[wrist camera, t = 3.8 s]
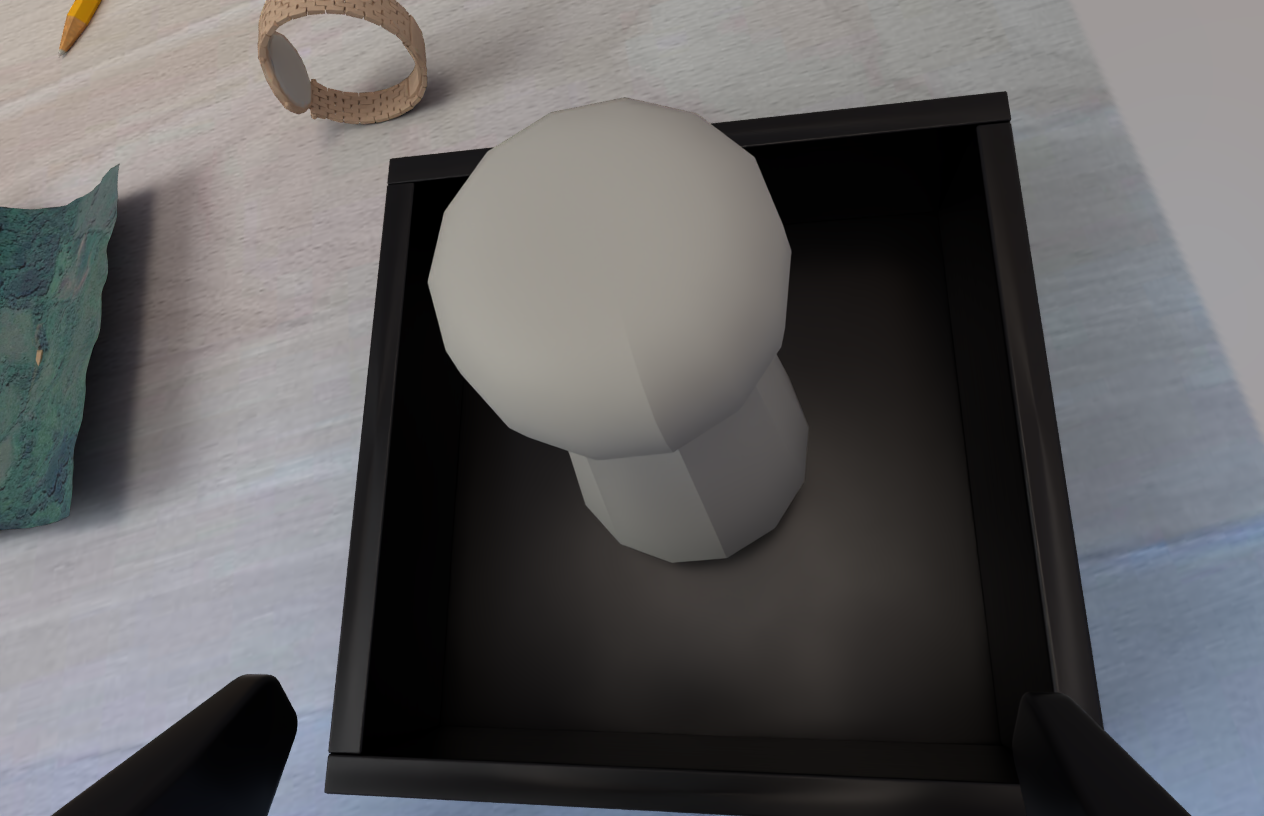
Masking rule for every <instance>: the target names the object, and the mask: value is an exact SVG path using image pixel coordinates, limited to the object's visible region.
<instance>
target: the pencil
mask: <svg viewBox="0 0 1264 816" xmlns="http://www.w3.org/2000/svg"><path fill="white" fill-rule="evenodd" d="M100 2H101V0H75V2H74V4H73V5H72V7H71V9H70V11H69V12H68V14H67V17H66V22H65V26H64V30H63V35H62V39H61V43H60V48H59V57H60V56H61V55H63V54H64V53H66V52H67V51H68V50H69V49H70V48H71V46H72V45H73V44H74V43H75V41H76V40H77V39H78V37H79V36H80V35H81V33H82V32H83V31H84V30H85V28H86V27H87V26H88V24H89V22H90V20H91V18H92V17H93V15H94V13H95V11H96V9H97V8H98V6H99V4H100ZM59 57H58V58H59Z"/></svg>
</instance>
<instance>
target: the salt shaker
mask: <svg viewBox="0 0 1264 816" xmlns="http://www.w3.org/2000/svg"><path fill="white" fill-rule="evenodd" d="M790 261H791V249H790V246H789V242H788V239H787V236H786V233H785V230H784V227H783V224H782V222H781V219H780V217H779V215H778V212H777V210H776V207H775V205H774V203H773V200H772V198H771V195H770V193H769V191H768V188H767V186H766V183H765V181H764V179H763V176H762V174H761V171H760V169H759V167H758V164H757V162H756V159H755V157H754V156H752V155H751V154H750V153H748V152H747V151H746V150H744V149H743V148H742V147H740V146H739V145H738V144H736V143H735V142H734V141H732V140H731V139H730V138H729V137H727V136H726V135H725V134H723V133H722V132H721V131H719V130H718V129H717V128H715V127H714V126H713V125H711V124H710V123H709V122H707V121H706V120H705V119H703V118H702V117H701V116H699V115H698V114H697V113H692V112H688V111H684V110H679V109H675V108H670V107H666V106H661V105H657V104H652V103H648V102H644V101H639V100H635V99H630V98H626V97H624V98H619V99H614V100H610V101H605V102H600V103H595V104H590V105H585V106H580V107H575V108H570V109H565V110H560V111H555V112H551V113H549V114H548V115H546V116H544V117H543V118H541V119H540V120H538V121H536V122H535V123H533V124H531V125H530V126H528V127H527V128H525V129H523V130H522V131H520V132H519V133H517V134H515V135H514V136H512V137H510V138H509V139H507V140H506V141H504V142H502V143H501V144H499V145H497V146H496V147H494V148H493V149H491V150H489V151H488V152H487V153H486V154H485V156H484V157H483V158H482V160H481V161H480V163H479V164H478V165H477V167H476V168H475V170H474V171H473V172H472V174H471V175H470V177H469V178H468V179H467V181H466V182H465V184H464V185H463V186H462V188H461V189H460V190H459V192H458V193H457V195H456V196H455V197H454V199H453V200H452V202H451V203H450V204H449V206H448V207H447V209H446V210H445V211H444V215H443V219H442V223H441V228H440V232H439V236H438V240H437V245H436V249H435V253H434V257H433V262H432V266H431V270H430V274H429V278H428V285H429V289H430V293H431V297H432V300H433V304H434V308H435V312H436V316H437V319H438V323H439V327H440V331H441V335H442V338H443V342H444V346H445V350H446V352H447V353H448V355H449V357H450V358H451V360H452V361H453V363H454V364H455V366H456V367H457V369H458V370H459V372H460V373H461V375H462V376H463V377H464V378H465V379H466V380H467V381H468V382H469V384H470V385H471V386H472V387H473V388H474V389H475V390H476V391H477V393H478V394H479V395H480V396H481V397H482V398H483V399H484V400H485V401H486V403H487V404H488V405H489V406H490V407H491V408H492V409H493V410H494V412H495V413H496V414H497V415H498V416H499V417H500V418H501V419H502V421H503V422H504V423H505V424H506V425H507V426H508V427H509V428H510V429H513V430H515V431H517V432H519V433H521V434H523V435H525V436H527V437H529V438H532V439H535V440H538V441H541V442H544V443H547V444H549V445H552V446H555V447H558V448H561V449H564V450H567V451H568V452H569V454H570V457H571V460H572V463H573V467H574V470H575V473H576V476H577V479H578V482H579V486H580V489H581V492H582V495H583V498H584V501H585V505H586V506H587V507H588V508H589V509H590V510H591V511H592V513H593V514H594V515H595V516H596V517H597V518H598V519H599V520H600V522H601V523H602V524H603V525H604V526H605V527H606V528H607V529H608V531H609V532H610V533H611V534H612V535H613V536H614V537H615V538H616V540H617V541H618V542H619V543H620V544H622V545H625V546H628V547H630V548H633V549H636V550H638V551H641V552H644V553H647V554H649V555H652V556H655V557H657V558H660V559H663V560H666V561H668V562H671V563H675V562H687V561H699V560H710V559H722V558H728V557H730V556H731V555H733V554H734V553H736V552H738V551H739V550H741V549H742V548H744V547H746V546H747V545H749V544H750V543H752V542H754V541H755V540H757V539H758V538H760V537H762V536H763V535H765V534H766V533H768V532H770V531H771V530H773V529H774V528H775V527H776V526H777V524H778V523H779V521H780V519H781V518H782V516H783V515H784V513H785V511H786V510H787V508H788V507H789V505H790V503H791V502H792V500H793V499H794V497H795V495H796V494H797V492H798V490H799V489H800V487H801V486H802V484H803V482H804V480H805V467H806V455H807V443H808V431H809V426H808V424H807V421H806V419H805V416H804V414H803V411H802V409H801V406H800V404H799V401H798V399H797V396H796V394H795V391H794V389H793V386H792V384H791V381H790V379H789V377H788V375H787V373H786V371H785V369H784V367H783V365H782V364H781V362H780V360H779V358H778V356H777V353H778V351H779V349H780V348H781V346H782V341H783V336H784V330H785V321H786V309H787V297H788V285H789V273H790Z"/></svg>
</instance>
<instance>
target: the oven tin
mask: <svg viewBox="0 0 1264 816" xmlns="http://www.w3.org/2000/svg"><path fill="white" fill-rule="evenodd" d="M1010 121H1011V115H1010V109H1009V102H1008V96H1007V92H1006V91H1004V92H995V93H986V94H977V95H968V96H959V97H949V98H940V99H931V100H922V101H913V102H904V103H895V104H885V105H876V106H867V107H858V108H849V109H840V110H831V111H822V112H812V113H803V114H794V115H785V116H776V117H767V118H758V119H749V120H739V121H730V122H721V123H712V124H711V125H713V126H714V127H715V128H717V129H718V130H719V131H721V132H722V133H723V134H725V135H726V136H727V137H729V138H730V139H731V140H732V141H734V142H735V143H736V144H738V145H739V146H740V147H742V148H743V149H744V150H746V151H747V152H748V153H750V154H751V155H752V156H754V157H755V159H756V162H757V164H758V167H759V169H760V171H761V174H762V176H763V179H764V181H765V183H766V186H767V188H768V191H769V193H770V195H771V198H772V200H773V203H774V205H775V207H776V210H777V212H778V215H779V217H780V219H781V222H782V224H783V227H784V230H785V233H786V236H787V239H788V242H789V246H790V249H791V261H790V273H789V285H788V297H787V309H786V321H785V330H784V336H783V341H782V346H781V348H780V349H779V351H778V353H777V356H778V358H779V360H780V362H781V364H782V365H783V367H784V369H785V371H786V373H787V375H788V377H789V379H790V381H791V384H792V386H793V389H794V391H795V394H796V396H797V399H798V401H799V404H800V406H801V409H802V411H803V414H804V416H805V419H806V421H807V424H808V426H809V431H808V443H807V455H806V467H805V480H804V482H803V484H802V486H801V487H800V489H799V490H798V492H797V494H796V495H795V497H794V499H793V500H792V502H791V503H790V505H789V507H788V508H787V510H786V511H785V513H784V515H783V516H782V518H781V519H780V521H779V523H778V524H777V526H776V527H775V528H774V529H773V530H771V531H770V532H768V533H766V534H765V535H763V536H762V537H760V538H758V539H757V540H755V541H754V542H752V543H750V544H749V545H747V546H746V547H744V548H742V549H741V550H739V551H738V552H736V553H734V554H733V555H731V556H730V557H728V558H722V559H710V560H699V561H687V562H675V563H671V562H668V561H666V560H663V559H660V558H657V557H655V556H652V555H649V554H647V553H644V552H641V551H638V550H636V549H633V548H630V547H628V546H625V545H622V544H620V543H619V542H618V541H617V540H616V538H615V537H614V536H613V535H612V534H611V533H610V532H609V531H608V529H607V528H606V527H605V526H604V525H603V524H602V523H601V522H600V520H599V519H598V518H597V517H596V516H595V515H594V514H593V513H592V511H591V510H590V509H589V508H588V507H587V506H586V505H585V501H584V498H583V495H582V492H581V489H580V486H579V482H578V479H577V476H576V473H575V470H574V467H573V463H572V460H571V457H570V454H569V452H568V451H567V450H564V449H561V448H558V447H555V446H552V445H549V444H547V443H544V442H541V441H538V440H535V439H532V438H529V437H527V436H525V435H523V434H521V433H519V432H517V431H515V430H513V429H510V428H509V427H508V426H507V425H506V424H505V423H504V422H503V421H502V419H501V418H500V417H499V416H498V415H497V414H496V413H495V412H494V410H493V409H492V408H491V407H490V406H489V405H488V404H487V403H486V401H485V400H484V399H483V398H482V397H481V396H480V395H479V394H478V393H477V391H476V390H475V389H474V388H473V387H472V386H471V385H470V384H469V382H468V381H467V380H466V379H465V378H464V377H463V376H462V375H461V373H460V372H459V370H458V369H457V367H456V366H455V364H454V363H453V361H452V360H451V358H450V357H449V355H448V353H447V352H446V350H445V346H444V342H443V338H442V335H441V331H440V327H439V323H438V319H437V316H436V312H435V308H434V304H433V300H432V297H431V293H430V289H429V285H428V278H429V274H430V270H431V266H432V262H433V257H434V253H435V249H436V245H437V240H438V236H439V232H440V228H441V223H442V219H443V215H444V211H445V210H446V209H447V207H448V206H449V204H450V203H451V202H452V200H453V199H454V197H455V196H456V195H457V193H458V192H459V190H460V189H461V188H462V186H463V185H464V184H465V182H466V181H467V179H468V178H469V177H470V175H471V174H472V172H473V171H474V170H475V168H476V167H477V165H478V164H479V163H480V161H481V160H482V158H483V157H484V156H485V154H486V153H487V152H488V151H489V150H491V149H493V148H494V147H493V148H484V149H475V150H466V151H456V152H447V153H438V154H429V155H420V156H411V157H402V158H392V159H390V164H389V173H388V186H387V193H386V203H385V213H384V222H383V232H382V241H381V251H380V261H379V270H378V280H377V289H376V299H375V309H374V318H373V328H372V337H371V347H370V357H369V366H368V376H367V385H366V395H365V405H364V414H363V424H362V434H361V443H360V453H359V462H358V472H357V482H356V491H355V501H354V510H353V520H352V530H351V539H350V549H349V558H348V568H347V578H346V587H345V597H344V606H343V616H342V626H341V635H340V645H339V654H338V664H337V674H336V683H335V693H334V702H333V712H332V722H331V731H330V741H329V750H328V751H329V753H331V754H329V756H328V762H327V771H326V781H325V793H327V794H344V795H362V796H381V797H400V798H418V799H437V800H455V801H474V802H492V803H511V804H530V805H548V806H567V807H585V808H604V809H622V810H641V811H660V812H678V813H697V814H715V815H734V816H1027V813H1026V808H1025V804H1024V800H1023V796H1022V792H1021V788H1020V783H1019V779H1018V775H1017V771H1016V767H1015V763H1014V757H1013V749H1012V740H1013V734H1014V729H1015V725H1016V720H1017V715H1018V710H1019V706H1020V701H1021V698H1022V696H1023V695H1024V694H1025V693H1026V692H1059V693H1063V694H1065V695H1067V696H1069V697H1070V698H1072V699H1073V700H1074V701H1075V702H1076V703H1077V704H1078V705H1079V706H1080V707H1081V708H1082V709H1083V710H1084V711H1085V712H1086V713H1087V714H1088V715H1089V716H1090V717H1091V718H1092V719H1093V720H1094V721H1095V722H1096V723H1097V724H1098V725H1099V726H1100V727H1101V728H1102V729H1103V730H1104V726H1103V720H1102V713H1101V707H1100V700H1099V694H1098V687H1097V681H1096V674H1095V668H1094V661H1093V655H1092V648H1091V642H1090V635H1089V629H1088V622H1087V616H1086V609H1085V603H1084V596H1083V590H1082V583H1081V576H1080V570H1079V563H1078V557H1077V550H1076V544H1075V537H1074V531H1073V524H1072V518H1071V511H1070V505H1069V498H1068V492H1067V485H1066V479H1065V472H1064V466H1063V459H1062V453H1061V446H1060V440H1059V433H1058V427H1057V420H1056V413H1055V407H1054V400H1053V394H1052V387H1051V381H1050V374H1049V368H1048V361H1047V355H1046V348H1045V342H1044V335H1043V329H1042V322H1041V316H1040V309H1039V303H1038V296H1037V290H1036V283H1035V277H1034V270H1033V264H1032V257H1031V251H1030V244H1029V237H1028V231H1027V224H1026V218H1025V211H1024V205H1023V198H1022V192H1021V185H1020V179H1019V172H1018V166H1017V159H1016V153H1015V146H1014V140H1013V133H1012V127H1011V123H1010Z"/></svg>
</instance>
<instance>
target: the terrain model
mask: <svg viewBox="0 0 1264 816" xmlns="http://www.w3.org/2000/svg"><path fill="white" fill-rule="evenodd" d="M119 164H120V163H119ZM119 164H118V165H116V166H115V167H113V168H111V169H110V170H109V171H108V172H107V173H106V175H105V176H104V177H103V179H102V181H101V183H100V184H99V185H97V186H96V187H95V188H94V190H93V191H91V192H90V193H88V194H87V195H85V196H83V197H80V198H78V199H76V200H74V201H73V202H71V203H70V204H68V205H66V206H61V207H53V208H43V209H18V208H7V207H0V530H5V529H22V528H31V527H36V526H42V525H47V524H51V523H54V522H57V521H59V520H61V519H64V518H66V517H67V516H69V513H70V505H71V497H72V488H73V486H72V475H73V454H74V446H75V443H76V439H77V436H78V432H79V429H80V425H81V422H82V418H83V409H84V401H85V393H86V382H85V380H86V372H87V367H88V363H89V360H90V356H91V353H92V350H93V346H94V344H95V342H96V340H97V338H98V335H99V331H100V324H101V293H102V290H103V286H104V284H105V282H106V280H107V275H108V260H107V254H106V250H107V244H108V241H109V239H110V237H111V234H112V231H113V228H114V225H115V221H116V218H117V201H118V191H117V181H118V170H119Z"/></svg>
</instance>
